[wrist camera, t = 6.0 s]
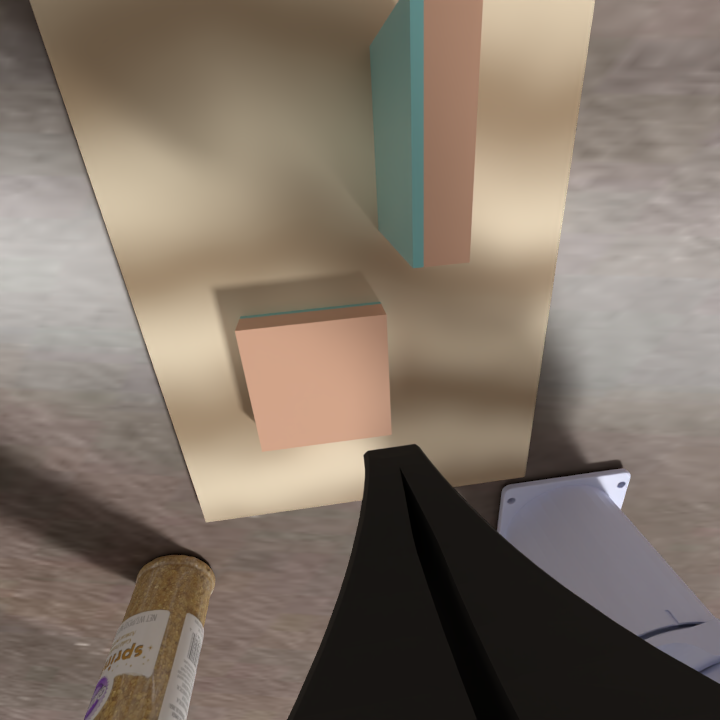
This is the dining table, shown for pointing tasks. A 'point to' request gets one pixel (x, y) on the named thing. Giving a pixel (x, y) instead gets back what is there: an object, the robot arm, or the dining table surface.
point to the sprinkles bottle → (156, 644)
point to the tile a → (317, 374)
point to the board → (318, 221)
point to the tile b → (426, 127)
